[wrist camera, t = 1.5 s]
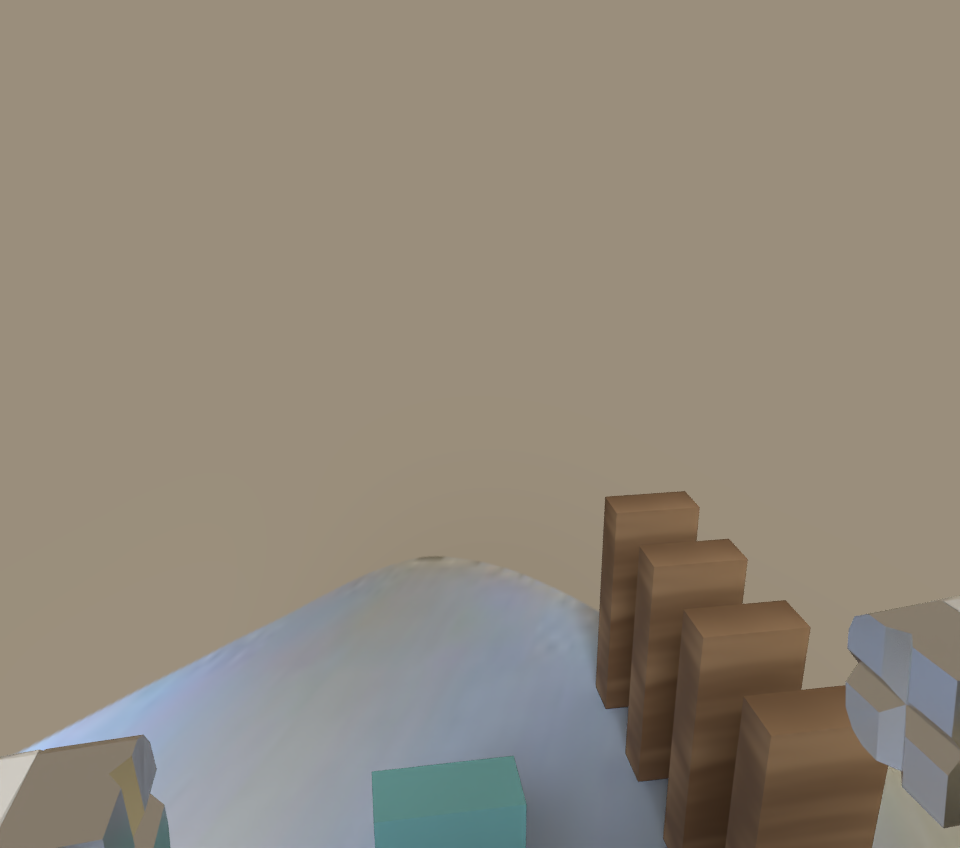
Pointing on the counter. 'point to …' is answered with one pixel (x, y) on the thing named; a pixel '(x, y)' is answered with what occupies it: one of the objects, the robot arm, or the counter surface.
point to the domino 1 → (450, 806)
